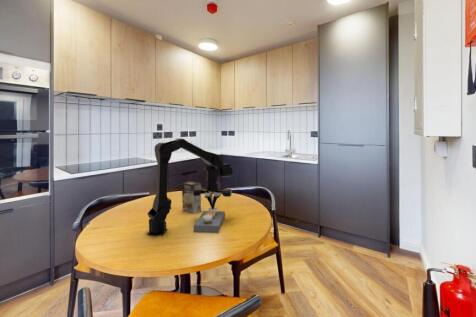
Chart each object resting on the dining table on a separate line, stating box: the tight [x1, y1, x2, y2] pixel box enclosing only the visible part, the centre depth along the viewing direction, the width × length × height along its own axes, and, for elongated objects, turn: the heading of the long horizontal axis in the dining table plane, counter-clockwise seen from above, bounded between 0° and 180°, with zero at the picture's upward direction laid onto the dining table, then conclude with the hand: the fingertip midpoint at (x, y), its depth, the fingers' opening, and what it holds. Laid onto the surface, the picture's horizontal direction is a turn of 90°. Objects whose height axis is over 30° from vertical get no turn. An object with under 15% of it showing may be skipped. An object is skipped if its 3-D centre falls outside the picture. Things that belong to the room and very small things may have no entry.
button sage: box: [203, 215, 212, 222], centre depth 115 cm, size 4×4×2 cm
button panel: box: [193, 210, 226, 234], centre depth 121 cm, size 11×20×3 cm, turn 175°
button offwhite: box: [208, 207, 218, 213], centre depth 128 cm, size 4×4×2 cm
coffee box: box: [181, 180, 202, 214], centre depth 141 cm, size 9×6×16 cm
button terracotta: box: [206, 212, 215, 218], centre depth 121 cm, size 4×4×2 cm
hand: (212, 208), depth 127 cm, fingers closed
